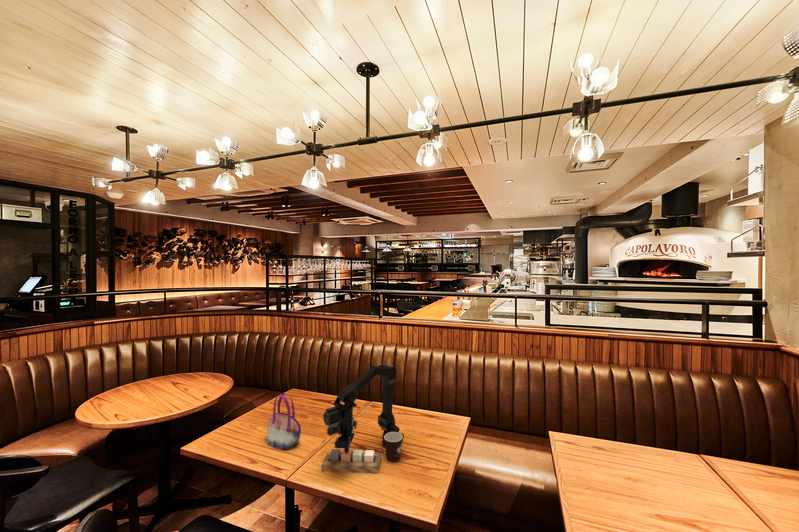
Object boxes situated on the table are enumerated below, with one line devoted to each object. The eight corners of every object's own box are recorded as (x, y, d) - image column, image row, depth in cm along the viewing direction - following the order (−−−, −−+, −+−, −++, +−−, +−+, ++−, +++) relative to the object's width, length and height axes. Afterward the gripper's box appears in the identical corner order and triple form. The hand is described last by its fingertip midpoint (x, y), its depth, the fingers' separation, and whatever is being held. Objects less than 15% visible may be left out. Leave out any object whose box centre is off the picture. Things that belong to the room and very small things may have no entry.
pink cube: (351, 458, 143) (351, 449, 143) (349, 464, 139) (349, 455, 139) (343, 458, 143) (343, 449, 143) (341, 463, 139) (341, 454, 139)
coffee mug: (389, 466, 140) (389, 443, 140) (381, 455, 148) (381, 434, 148) (411, 458, 146) (411, 437, 146) (402, 449, 153) (402, 428, 153)
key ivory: (374, 459, 142) (374, 450, 142) (373, 464, 138) (373, 455, 138) (365, 458, 143) (365, 450, 143) (364, 464, 139) (364, 455, 139)
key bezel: (381, 459, 145) (380, 452, 145) (378, 473, 135) (378, 466, 135) (328, 457, 147) (328, 451, 147) (321, 471, 137) (321, 464, 137)
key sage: (363, 458, 143) (363, 450, 143) (361, 464, 139) (361, 455, 139) (354, 458, 143) (354, 449, 143) (352, 463, 139) (352, 455, 139)
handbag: (260, 443, 158) (260, 394, 158) (275, 433, 167) (275, 387, 167) (292, 453, 150) (292, 401, 149) (306, 443, 159) (306, 394, 159)
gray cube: (340, 457, 143) (340, 449, 143) (338, 463, 139) (338, 454, 139) (332, 457, 144) (332, 448, 144) (329, 463, 140) (329, 454, 140)
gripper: (334, 408, 151) (334, 440, 151) (322, 428, 132) (322, 464, 132) (357, 408, 150) (357, 440, 150) (348, 428, 132) (348, 465, 132)
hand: (346, 452), depth 141 cm, fingers closed, pressing on pink cube
